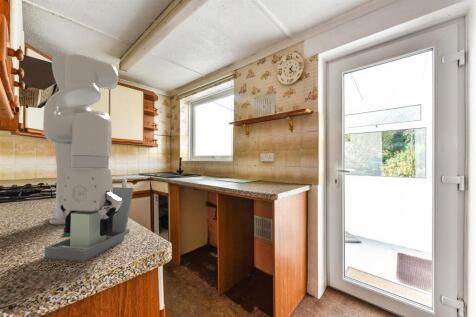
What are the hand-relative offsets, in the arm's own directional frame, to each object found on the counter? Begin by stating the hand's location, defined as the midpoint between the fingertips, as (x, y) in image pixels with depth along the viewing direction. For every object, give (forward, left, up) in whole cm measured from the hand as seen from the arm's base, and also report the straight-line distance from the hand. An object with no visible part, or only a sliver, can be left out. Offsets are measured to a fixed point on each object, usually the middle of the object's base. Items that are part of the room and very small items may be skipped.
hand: (89, 232), depth 49 cm
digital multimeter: (-16, +13, -5) cm, 21 cm away
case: (0, 0, -5) cm, 5 cm away
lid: (0, +7, +4) cm, 9 cm away
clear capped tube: (+1, +11, -5) cm, 12 cm away
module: (0, 0, -4) cm, 4 cm away
